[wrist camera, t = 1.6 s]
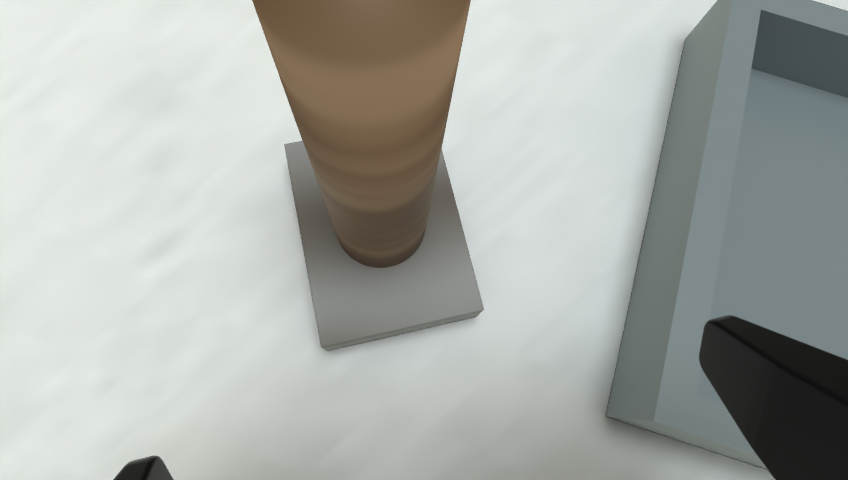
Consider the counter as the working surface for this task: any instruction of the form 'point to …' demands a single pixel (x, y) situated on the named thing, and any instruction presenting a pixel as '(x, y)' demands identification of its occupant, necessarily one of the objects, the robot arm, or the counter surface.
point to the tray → (741, 211)
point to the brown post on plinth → (374, 161)
